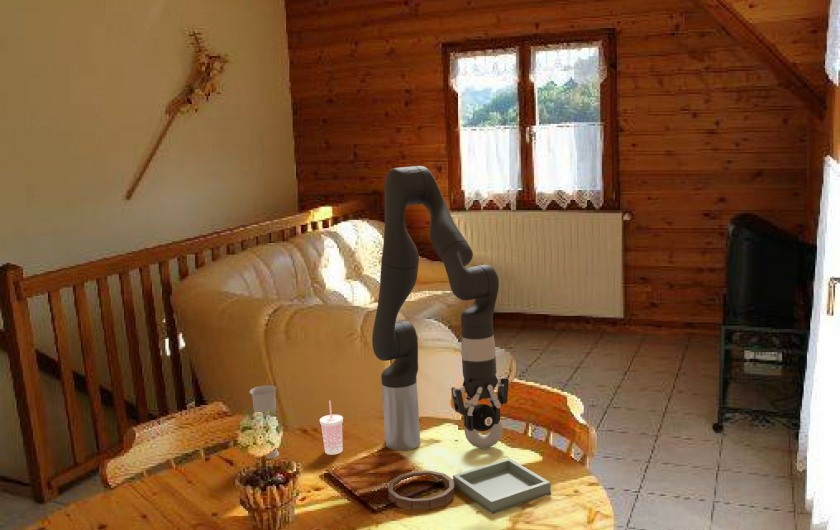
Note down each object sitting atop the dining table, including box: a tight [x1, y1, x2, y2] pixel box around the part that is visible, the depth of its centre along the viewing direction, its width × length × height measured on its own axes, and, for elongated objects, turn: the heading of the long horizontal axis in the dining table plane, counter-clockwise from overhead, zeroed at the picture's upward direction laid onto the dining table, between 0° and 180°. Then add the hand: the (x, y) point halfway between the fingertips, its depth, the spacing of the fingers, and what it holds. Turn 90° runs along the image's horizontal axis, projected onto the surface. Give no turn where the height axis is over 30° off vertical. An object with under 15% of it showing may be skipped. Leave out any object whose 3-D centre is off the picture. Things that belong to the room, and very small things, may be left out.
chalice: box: [249, 384, 280, 460], centre depth 212 cm, size 7×7×18 cm
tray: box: [452, 457, 552, 515], centre depth 187 cm, size 16×16×3 cm
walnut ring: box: [387, 470, 455, 511], centre depth 187 cm, size 15×15×2 cm
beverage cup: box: [319, 400, 344, 456], centre depth 213 cm, size 6×6×14 cm
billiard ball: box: [472, 403, 496, 432], centre depth 183 cm, size 6×6×6 cm
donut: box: [464, 420, 504, 449], centre depth 210 cm, size 10×4×10 cm, turn 96°
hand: (482, 426), depth 183 cm, fingers closed on billiard ball, 6 cm apart
